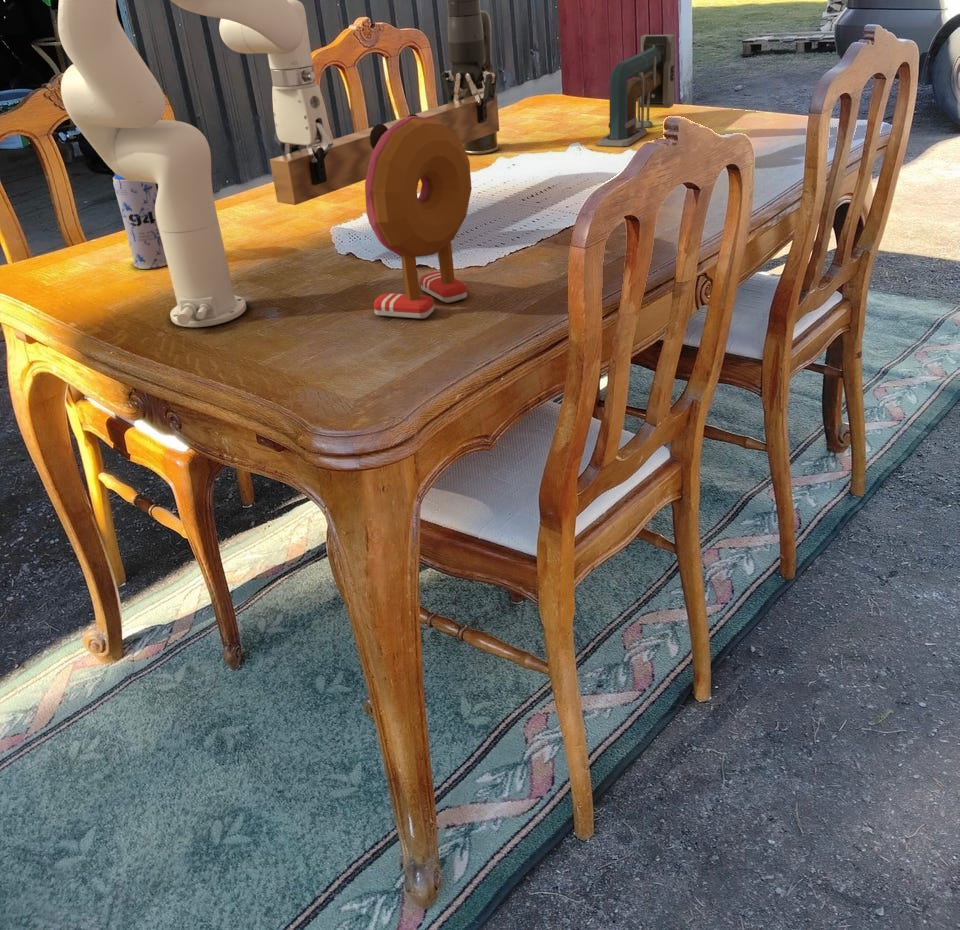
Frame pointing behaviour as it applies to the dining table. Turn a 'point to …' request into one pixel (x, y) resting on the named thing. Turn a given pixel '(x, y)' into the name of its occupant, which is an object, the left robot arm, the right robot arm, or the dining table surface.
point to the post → (368, 152)
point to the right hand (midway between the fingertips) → (471, 121)
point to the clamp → (640, 89)
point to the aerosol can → (140, 221)
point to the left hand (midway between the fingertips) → (309, 180)
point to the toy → (418, 207)
